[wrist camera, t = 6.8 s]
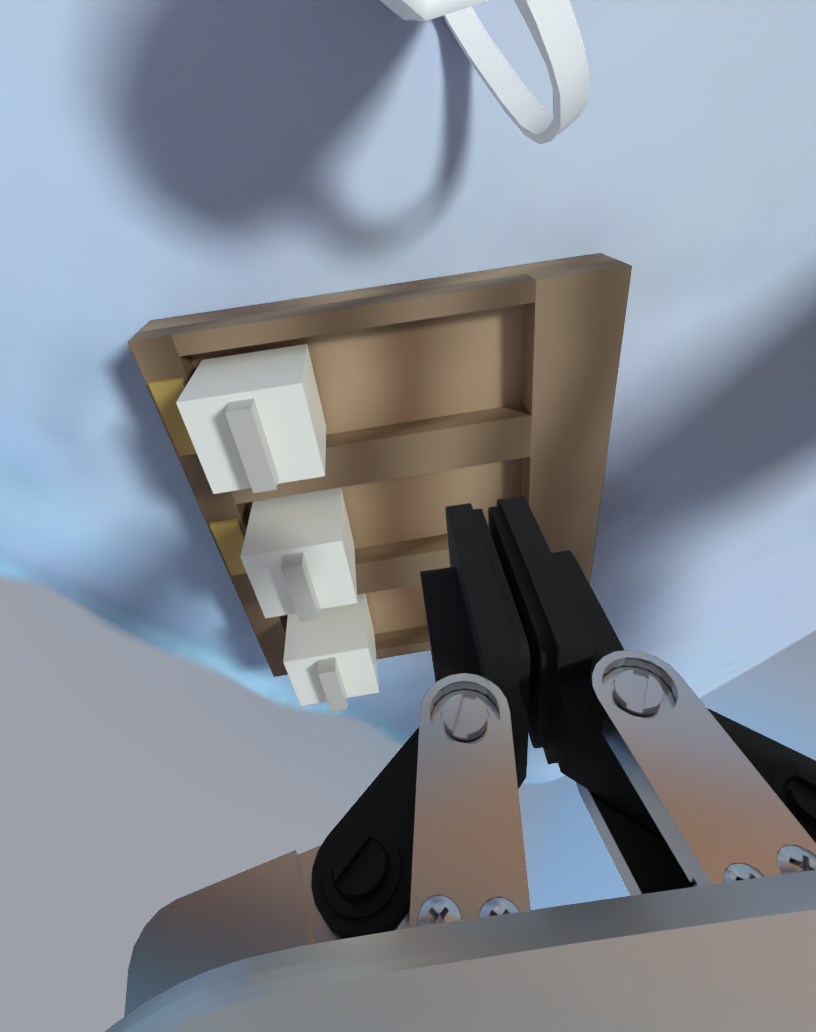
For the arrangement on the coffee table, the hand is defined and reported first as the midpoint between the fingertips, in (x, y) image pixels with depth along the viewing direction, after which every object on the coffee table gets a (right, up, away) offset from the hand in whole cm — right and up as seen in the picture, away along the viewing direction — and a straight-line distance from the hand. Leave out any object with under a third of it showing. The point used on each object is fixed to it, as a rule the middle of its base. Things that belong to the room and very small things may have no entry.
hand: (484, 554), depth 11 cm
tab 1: (-7, +6, +9) cm, 13 cm away
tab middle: (-7, 0, +13) cm, 15 cm away
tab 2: (-6, -5, +17) cm, 18 cm away
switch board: (-2, +2, +15) cm, 15 cm away
